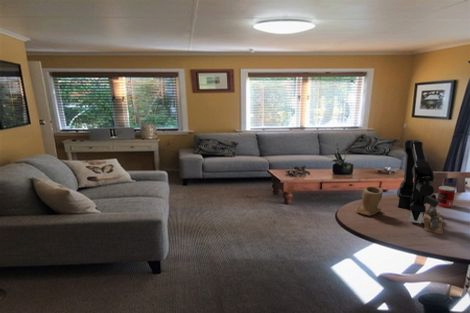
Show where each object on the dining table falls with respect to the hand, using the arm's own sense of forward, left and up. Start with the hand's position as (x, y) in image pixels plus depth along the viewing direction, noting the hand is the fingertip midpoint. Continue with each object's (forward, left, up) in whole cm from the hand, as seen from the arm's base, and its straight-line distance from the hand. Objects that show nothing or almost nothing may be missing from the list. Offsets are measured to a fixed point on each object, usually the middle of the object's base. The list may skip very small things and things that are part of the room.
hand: (415, 218), depth 144 cm
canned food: (+15, +37, -2) cm, 40 cm away
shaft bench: (+8, +5, -2) cm, 10 cm away
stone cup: (-21, +2, -2) cm, 22 cm away
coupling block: (0, 0, -1) cm, 1 cm away
